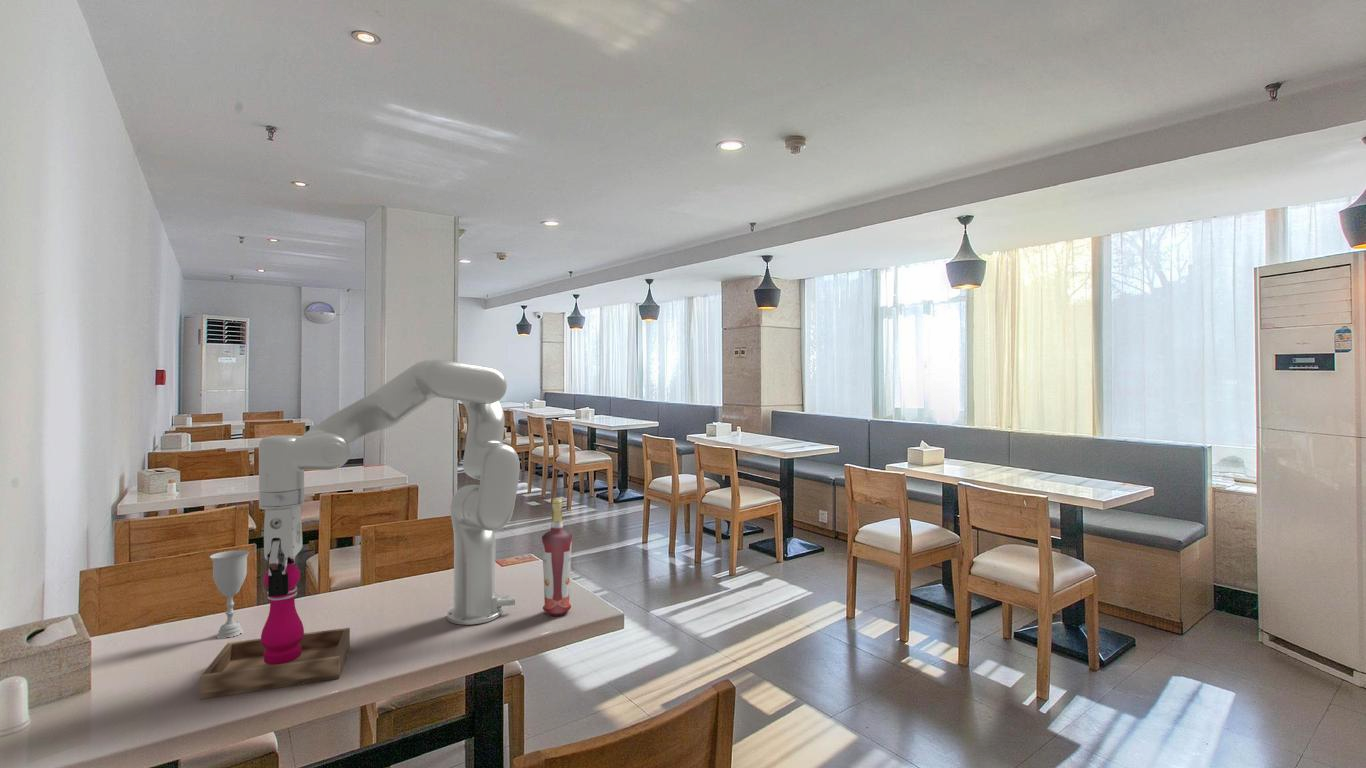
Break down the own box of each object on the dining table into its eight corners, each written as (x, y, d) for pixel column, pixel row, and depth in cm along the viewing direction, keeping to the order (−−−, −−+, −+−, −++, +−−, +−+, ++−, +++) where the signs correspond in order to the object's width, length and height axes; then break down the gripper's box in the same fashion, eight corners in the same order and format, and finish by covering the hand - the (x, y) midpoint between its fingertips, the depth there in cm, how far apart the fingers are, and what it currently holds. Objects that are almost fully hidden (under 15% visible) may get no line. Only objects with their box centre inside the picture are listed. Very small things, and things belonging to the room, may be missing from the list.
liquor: (573, 616, 153) (573, 501, 153) (542, 619, 152) (542, 502, 152) (571, 606, 161) (571, 495, 160) (541, 608, 159) (541, 497, 159)
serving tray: (349, 646, 136) (349, 627, 136) (338, 678, 121) (338, 657, 121) (227, 662, 128) (227, 642, 128) (200, 699, 113) (200, 677, 113)
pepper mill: (283, 667, 121) (282, 562, 120) (251, 664, 122) (250, 560, 122) (312, 651, 128) (312, 552, 128) (282, 648, 129) (281, 550, 129)
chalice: (207, 642, 138) (206, 560, 138) (213, 631, 144) (213, 552, 144) (247, 636, 141) (247, 555, 141) (251, 626, 147) (251, 548, 147)
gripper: (294, 505, 118) (295, 601, 118) (311, 490, 134) (312, 575, 134) (247, 508, 115) (247, 607, 115) (270, 492, 131) (271, 579, 132)
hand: (282, 589), depth 125 cm, fingers closed on pepper mill, 5 cm apart
